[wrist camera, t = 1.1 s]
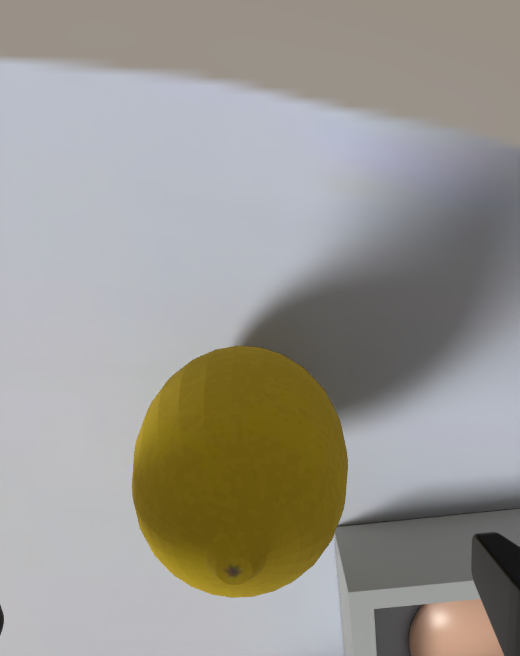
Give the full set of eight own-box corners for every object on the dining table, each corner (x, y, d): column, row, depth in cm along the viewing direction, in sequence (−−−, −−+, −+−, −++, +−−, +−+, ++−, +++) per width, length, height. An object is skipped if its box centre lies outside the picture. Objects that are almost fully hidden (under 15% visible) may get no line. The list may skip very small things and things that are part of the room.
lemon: (327, 316, 15) (398, 441, 7) (319, 459, 17) (371, 685, 9) (164, 315, 15) (66, 437, 7) (171, 458, 17) (96, 683, 9)
